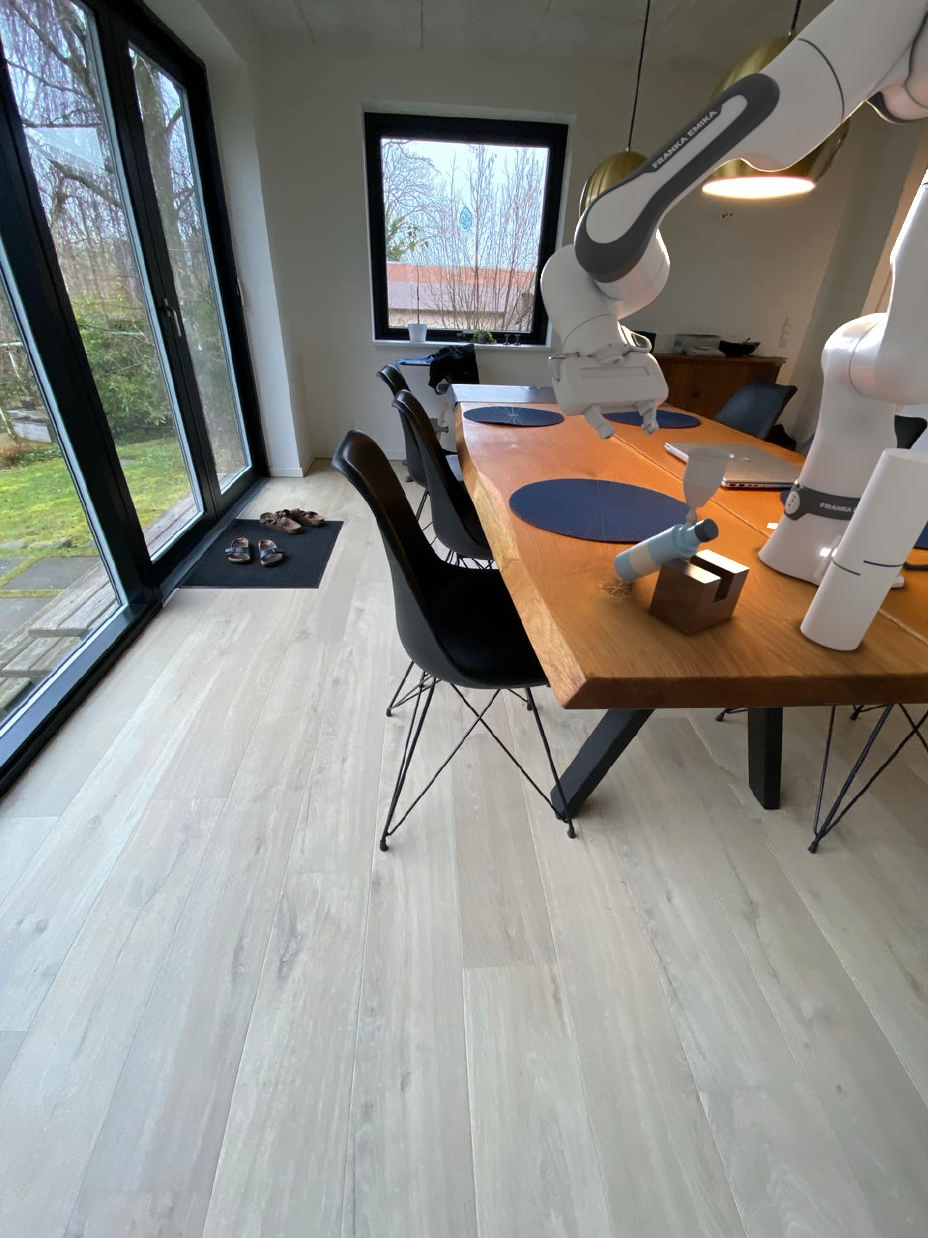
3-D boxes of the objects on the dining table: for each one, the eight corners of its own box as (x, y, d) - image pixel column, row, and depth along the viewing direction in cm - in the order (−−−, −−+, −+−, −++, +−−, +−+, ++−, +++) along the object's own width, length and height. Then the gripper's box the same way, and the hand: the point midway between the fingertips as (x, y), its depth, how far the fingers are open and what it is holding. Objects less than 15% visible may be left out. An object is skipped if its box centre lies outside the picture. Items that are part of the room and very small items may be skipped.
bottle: (604, 575, 86) (625, 490, 78) (626, 569, 88) (649, 486, 80) (675, 619, 76) (708, 527, 68) (697, 611, 78) (731, 521, 70)
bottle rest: (648, 611, 77) (662, 562, 72) (691, 596, 81) (706, 549, 77) (687, 634, 72) (705, 583, 67) (731, 617, 76) (750, 568, 72)
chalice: (700, 548, 97) (732, 450, 88) (702, 563, 92) (735, 460, 82) (660, 541, 99) (686, 445, 90) (659, 555, 94) (687, 454, 84)
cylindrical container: (859, 656, 69) (965, 468, 56) (799, 638, 72) (885, 456, 59) (857, 632, 74) (954, 455, 61) (801, 616, 78) (882, 445, 64)
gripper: (556, 337, 71) (593, 426, 70) (656, 339, 81) (690, 417, 80) (532, 368, 77) (565, 452, 75) (628, 366, 87) (660, 440, 85)
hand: (630, 434), depth 77 cm, fingers open, 8 cm apart
